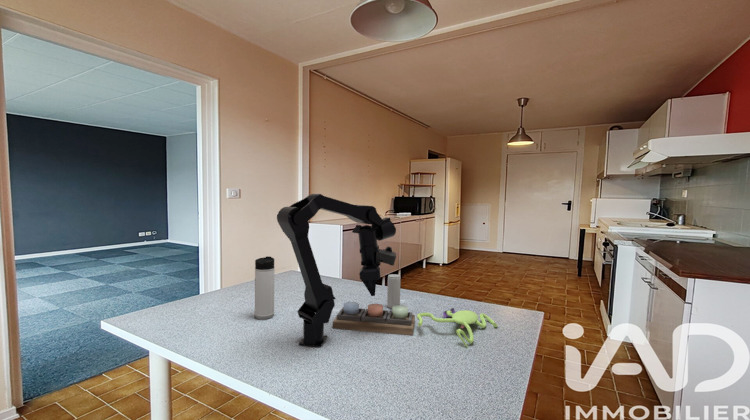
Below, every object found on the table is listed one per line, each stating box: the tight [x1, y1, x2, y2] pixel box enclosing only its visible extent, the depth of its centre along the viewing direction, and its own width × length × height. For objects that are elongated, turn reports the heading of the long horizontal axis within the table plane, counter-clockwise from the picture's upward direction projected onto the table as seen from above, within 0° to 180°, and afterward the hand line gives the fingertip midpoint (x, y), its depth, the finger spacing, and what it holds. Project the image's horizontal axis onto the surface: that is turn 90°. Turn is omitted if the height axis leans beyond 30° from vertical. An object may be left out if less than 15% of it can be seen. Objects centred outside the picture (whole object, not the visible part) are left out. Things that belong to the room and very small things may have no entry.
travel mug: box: [254, 256, 275, 321], centre depth 111 cm, size 6×7×20 cm
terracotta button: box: [367, 303, 384, 317], centre depth 105 cm, size 5×5×2 cm
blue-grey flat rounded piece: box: [343, 301, 360, 315], centre depth 107 cm, size 5×5×2 cm
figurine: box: [416, 307, 498, 349], centre depth 104 cm, size 18×27×6 cm
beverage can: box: [386, 273, 401, 310], centre depth 123 cm, size 5×5×12 cm
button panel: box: [332, 306, 416, 336], centre depth 106 cm, size 12×25×4 cm, turn 80°
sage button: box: [391, 304, 409, 319], centre depth 104 cm, size 5×5×2 cm
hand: (373, 290), depth 107 cm, fingers open, 9 cm apart
